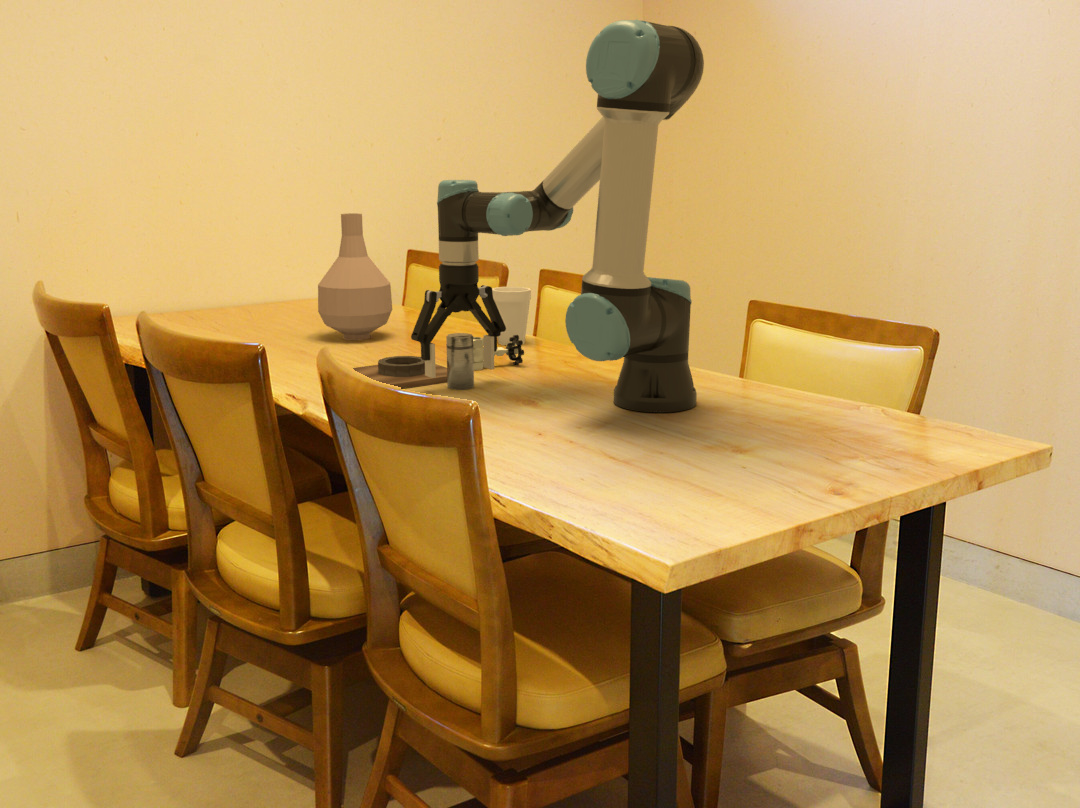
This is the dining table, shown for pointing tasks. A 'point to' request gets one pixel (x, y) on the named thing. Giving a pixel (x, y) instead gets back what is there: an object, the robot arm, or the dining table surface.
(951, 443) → the dining table surface
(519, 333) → the foam cup
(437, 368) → the ring block
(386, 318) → the vase
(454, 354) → the cylinder
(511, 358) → the valve
